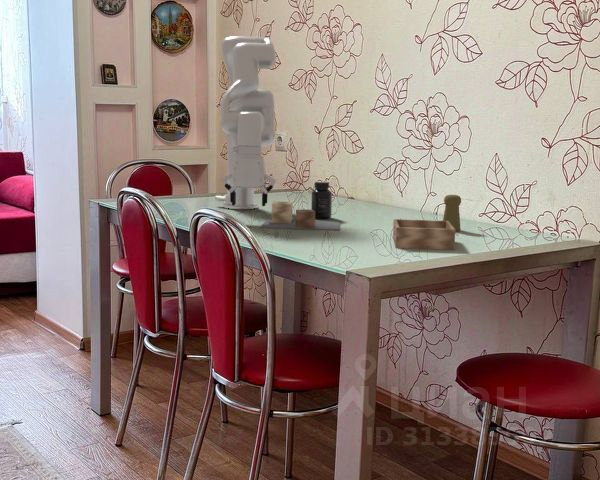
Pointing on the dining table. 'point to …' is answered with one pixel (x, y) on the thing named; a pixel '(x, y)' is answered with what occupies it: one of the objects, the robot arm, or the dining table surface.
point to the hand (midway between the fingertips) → (248, 205)
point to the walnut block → (305, 218)
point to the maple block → (281, 212)
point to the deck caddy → (423, 234)
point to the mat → (318, 226)
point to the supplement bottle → (321, 200)
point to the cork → (452, 211)
